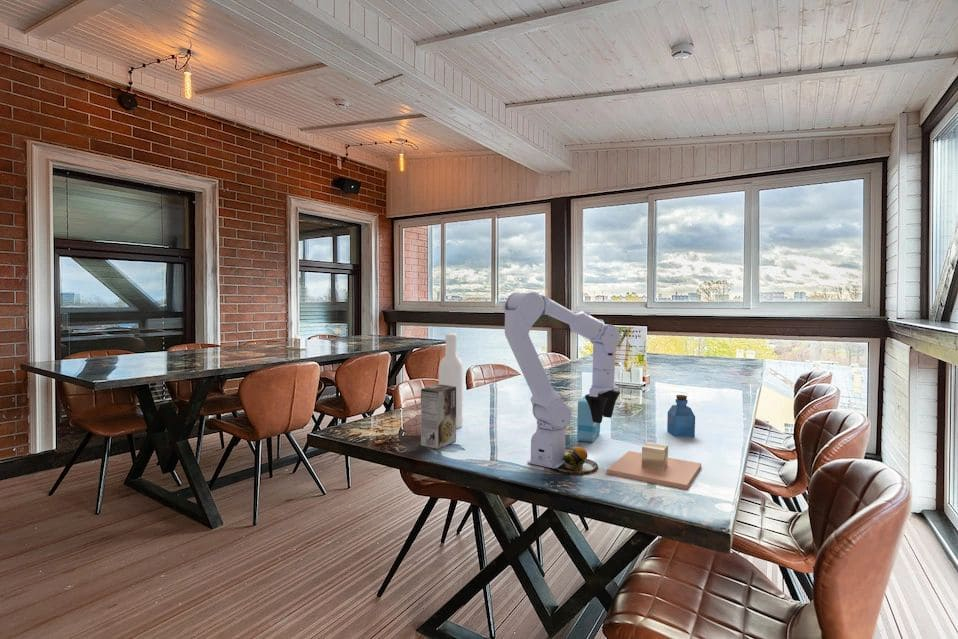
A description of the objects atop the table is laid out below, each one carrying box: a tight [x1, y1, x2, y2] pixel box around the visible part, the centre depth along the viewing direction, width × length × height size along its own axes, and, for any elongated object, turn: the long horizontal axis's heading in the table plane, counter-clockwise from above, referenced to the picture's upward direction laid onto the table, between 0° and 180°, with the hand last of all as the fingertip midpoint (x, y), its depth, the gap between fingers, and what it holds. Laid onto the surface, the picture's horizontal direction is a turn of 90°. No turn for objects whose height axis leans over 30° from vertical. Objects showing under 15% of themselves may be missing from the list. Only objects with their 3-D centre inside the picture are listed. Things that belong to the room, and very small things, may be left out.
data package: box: [576, 395, 601, 443], centre depth 151 cm, size 12×4×12 cm, turn 156°
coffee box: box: [420, 384, 457, 450], centre depth 143 cm, size 9×6×16 cm
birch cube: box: [641, 441, 669, 471], centre depth 123 cm, size 5×5×5 cm
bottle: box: [438, 333, 464, 430], centre depth 163 cm, size 8×8×30 cm
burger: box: [555, 446, 599, 476], centre depth 125 cm, size 12×12×8 cm
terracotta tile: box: [606, 450, 702, 490], centre depth 123 cm, size 18×18×1 cm
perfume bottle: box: [666, 394, 696, 438], centre depth 157 cm, size 6×6×12 cm
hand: (602, 419), depth 135 cm, fingers open, 7 cm apart
